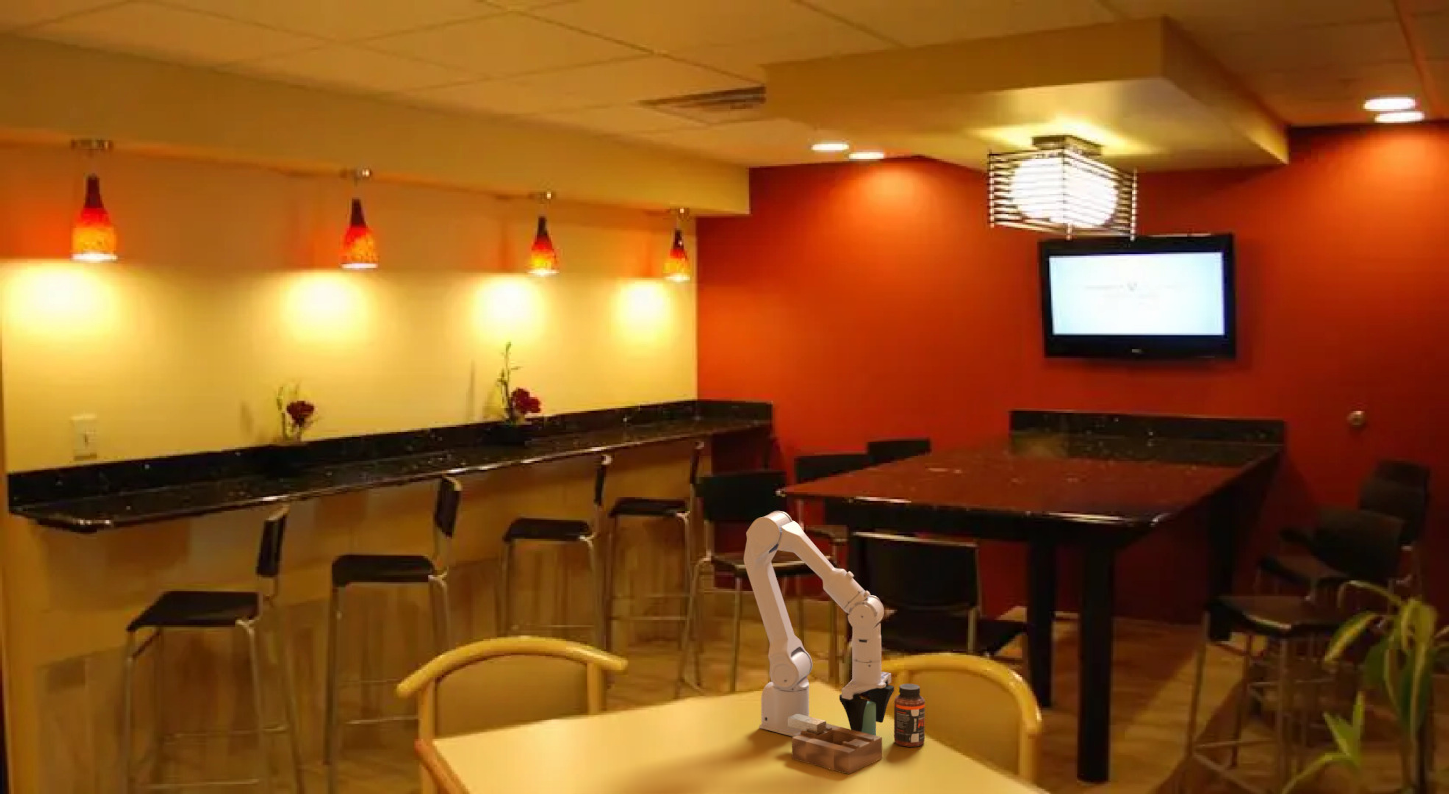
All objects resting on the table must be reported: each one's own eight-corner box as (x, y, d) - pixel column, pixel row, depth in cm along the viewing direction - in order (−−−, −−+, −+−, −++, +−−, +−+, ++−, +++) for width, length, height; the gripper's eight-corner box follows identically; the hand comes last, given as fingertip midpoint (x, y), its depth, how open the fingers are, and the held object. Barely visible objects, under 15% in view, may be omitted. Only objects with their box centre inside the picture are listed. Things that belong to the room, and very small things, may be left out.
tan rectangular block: (787, 726, 242) (787, 717, 242) (797, 722, 245) (797, 713, 245) (817, 734, 238) (817, 724, 238) (826, 730, 240) (826, 720, 240)
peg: (854, 738, 248) (854, 704, 247) (864, 734, 251) (864, 700, 250) (869, 742, 246) (869, 707, 245) (879, 738, 248) (879, 703, 248)
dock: (792, 758, 237) (791, 735, 237) (826, 743, 245) (826, 720, 245) (848, 774, 229) (848, 750, 228) (881, 758, 237) (881, 734, 237)
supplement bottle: (924, 749, 242) (924, 691, 241) (893, 747, 243) (893, 690, 242) (925, 739, 248) (925, 682, 247) (895, 737, 249) (895, 681, 248)
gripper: (862, 670, 239) (863, 740, 240) (903, 654, 250) (904, 721, 251) (832, 664, 244) (833, 732, 244) (874, 648, 255) (874, 714, 255)
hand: (867, 726), depth 248 cm, fingers open, 7 cm apart
